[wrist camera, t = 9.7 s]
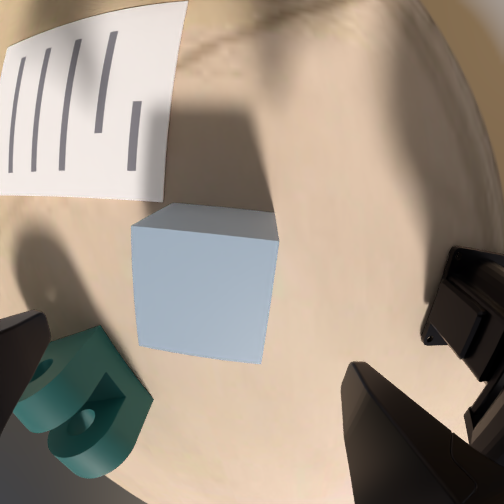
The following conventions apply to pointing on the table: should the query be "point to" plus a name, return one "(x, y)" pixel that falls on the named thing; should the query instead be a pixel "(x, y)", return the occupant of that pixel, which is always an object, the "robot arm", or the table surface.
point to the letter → (91, 106)
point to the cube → (204, 280)
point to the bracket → (85, 403)
